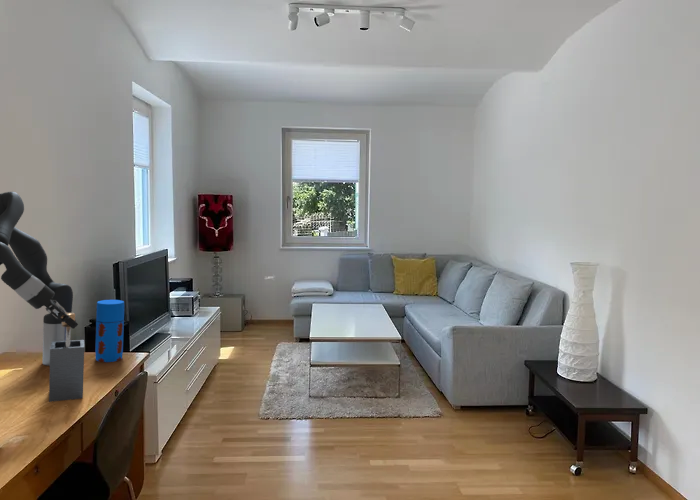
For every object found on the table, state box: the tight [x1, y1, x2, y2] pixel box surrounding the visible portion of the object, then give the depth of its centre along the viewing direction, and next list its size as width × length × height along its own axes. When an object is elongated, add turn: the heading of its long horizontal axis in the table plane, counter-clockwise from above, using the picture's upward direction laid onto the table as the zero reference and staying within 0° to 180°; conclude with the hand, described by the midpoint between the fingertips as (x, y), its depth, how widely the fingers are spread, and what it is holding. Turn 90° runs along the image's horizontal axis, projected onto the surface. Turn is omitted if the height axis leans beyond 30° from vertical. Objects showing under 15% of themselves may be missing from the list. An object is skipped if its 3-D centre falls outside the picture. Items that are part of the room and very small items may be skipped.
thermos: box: [94, 299, 125, 363], centre depth 212 cm, size 11×11×25 cm
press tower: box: [48, 339, 85, 403], centre depth 170 cm, size 10×10×18 cm
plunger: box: [62, 312, 76, 347], centre depth 169 cm, size 7×7×26 cm
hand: (74, 324), depth 170 cm, fingers closed on plunger, 4 cm apart
